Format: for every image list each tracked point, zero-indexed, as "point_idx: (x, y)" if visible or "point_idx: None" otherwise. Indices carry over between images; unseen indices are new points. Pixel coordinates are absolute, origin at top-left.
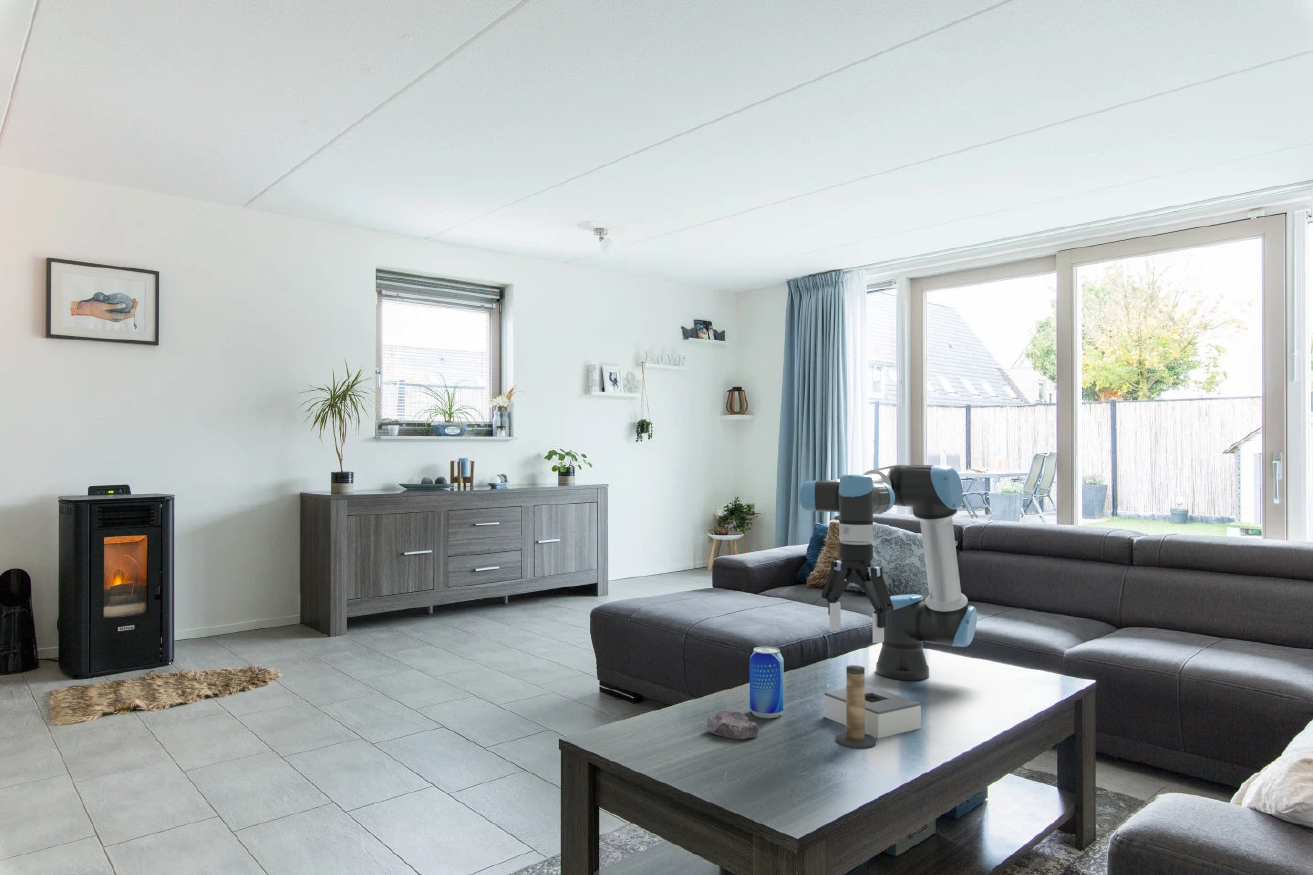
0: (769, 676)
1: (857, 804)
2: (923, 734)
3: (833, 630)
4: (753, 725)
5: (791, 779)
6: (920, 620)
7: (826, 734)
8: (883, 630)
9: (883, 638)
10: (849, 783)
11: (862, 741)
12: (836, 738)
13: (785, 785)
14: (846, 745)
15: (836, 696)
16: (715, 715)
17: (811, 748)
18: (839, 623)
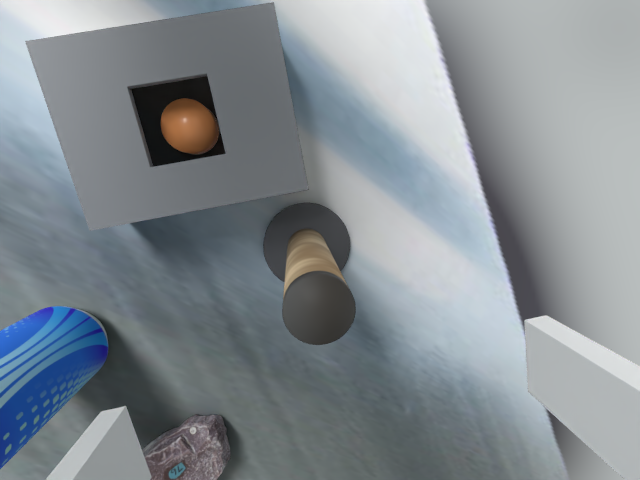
0: (39, 422)
1: None
2: (317, 64)
3: (145, 470)
4: (220, 443)
5: (422, 436)
6: None
7: (247, 280)
8: (625, 364)
9: (565, 330)
10: (472, 363)
11: (326, 242)
12: None
13: (438, 452)
14: None
15: (141, 219)
16: None
17: (311, 346)
18: (98, 462)
